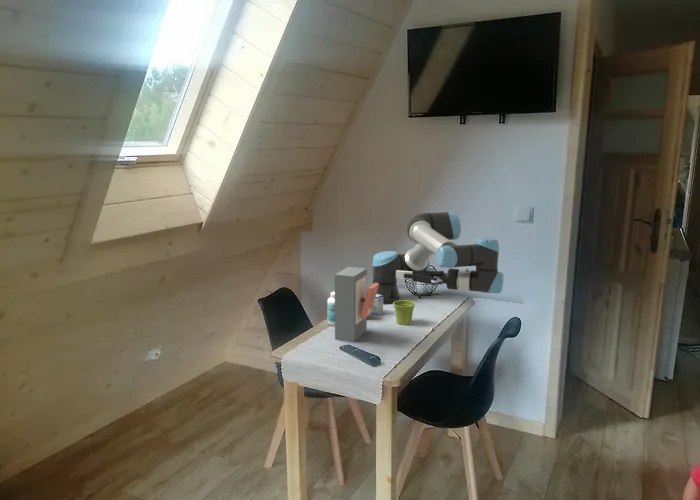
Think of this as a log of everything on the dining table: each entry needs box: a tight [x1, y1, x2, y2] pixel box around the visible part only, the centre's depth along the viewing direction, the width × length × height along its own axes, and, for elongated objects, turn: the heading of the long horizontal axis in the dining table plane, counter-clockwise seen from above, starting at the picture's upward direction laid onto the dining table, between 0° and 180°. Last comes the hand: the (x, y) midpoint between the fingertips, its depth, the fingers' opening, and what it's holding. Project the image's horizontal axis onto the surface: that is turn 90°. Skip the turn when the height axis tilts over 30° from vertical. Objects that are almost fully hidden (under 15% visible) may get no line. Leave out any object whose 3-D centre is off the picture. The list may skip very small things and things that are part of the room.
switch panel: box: [334, 266, 368, 343], centre depth 215 cm, size 14×10×26 cm
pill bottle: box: [326, 291, 335, 327], centre depth 230 cm, size 8×7×14 cm
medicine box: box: [370, 294, 384, 316], centre depth 245 cm, size 8×4×9 cm, turn 50°
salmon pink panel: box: [360, 282, 379, 319], centre depth 212 cm, size 8×2×13 cm, turn 158°
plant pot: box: [392, 299, 416, 326], centre depth 232 cm, size 9×9×9 cm
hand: (396, 274), depth 206 cm, fingers closed
